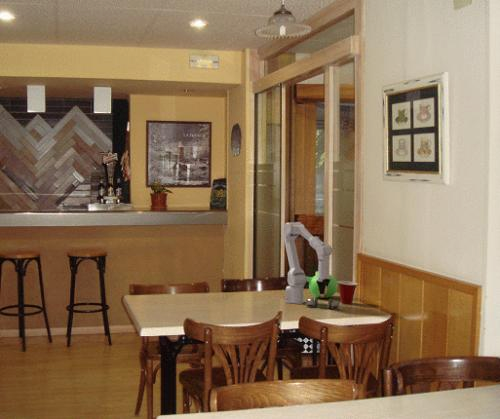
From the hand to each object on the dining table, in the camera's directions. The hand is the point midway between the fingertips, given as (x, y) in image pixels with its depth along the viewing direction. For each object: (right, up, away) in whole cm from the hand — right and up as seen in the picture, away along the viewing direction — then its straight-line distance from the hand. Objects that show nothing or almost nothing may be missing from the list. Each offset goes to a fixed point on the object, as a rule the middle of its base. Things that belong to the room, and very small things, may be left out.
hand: (323, 293), depth 384 cm
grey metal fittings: (0, -8, 0) cm, 8 cm away
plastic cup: (+15, -8, +15) cm, 22 cm away
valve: (0, -2, 0) cm, 2 cm away
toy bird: (+3, -6, +32) cm, 33 cm away
